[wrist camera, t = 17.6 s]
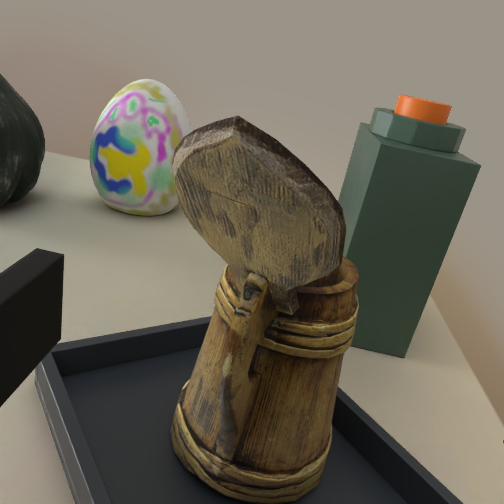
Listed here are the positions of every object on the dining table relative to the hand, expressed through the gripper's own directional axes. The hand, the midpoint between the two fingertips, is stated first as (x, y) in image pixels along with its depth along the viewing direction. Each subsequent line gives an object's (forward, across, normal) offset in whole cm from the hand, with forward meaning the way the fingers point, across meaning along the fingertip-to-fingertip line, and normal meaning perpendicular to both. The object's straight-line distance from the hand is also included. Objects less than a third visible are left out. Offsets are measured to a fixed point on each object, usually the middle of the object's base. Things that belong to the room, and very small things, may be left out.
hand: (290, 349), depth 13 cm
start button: (+28, +8, +5) cm, 30 cm away
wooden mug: (+7, -1, -13) cm, 15 cm away
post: (+28, +8, -13) cm, 32 cm away
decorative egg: (+44, -18, -13) cm, 49 cm away
